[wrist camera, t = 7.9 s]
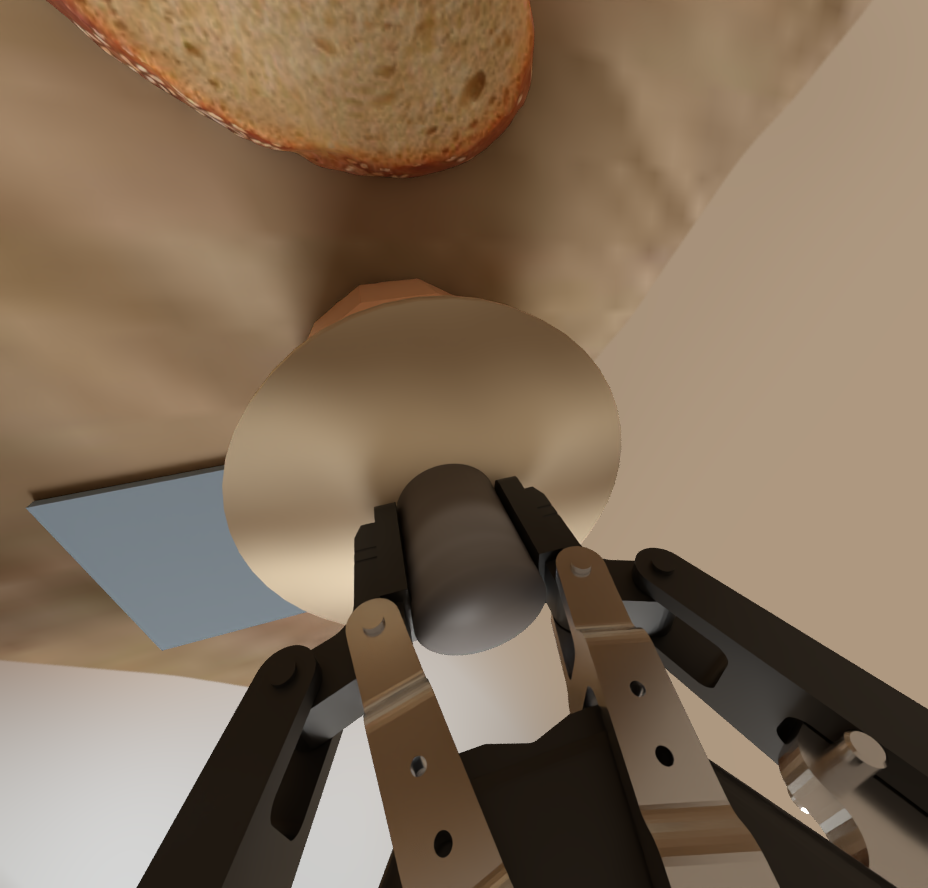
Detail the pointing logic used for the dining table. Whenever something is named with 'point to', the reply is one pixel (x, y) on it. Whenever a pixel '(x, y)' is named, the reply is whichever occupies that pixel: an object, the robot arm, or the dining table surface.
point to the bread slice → (333, 72)
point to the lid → (421, 460)
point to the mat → (164, 556)
